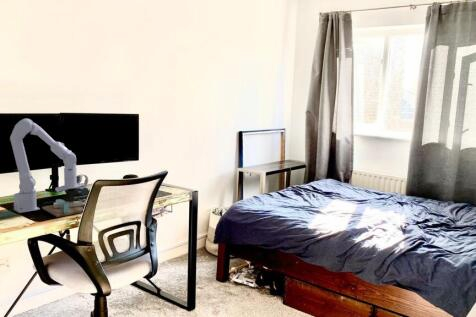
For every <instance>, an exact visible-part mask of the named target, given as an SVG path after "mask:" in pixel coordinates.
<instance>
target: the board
mask: <svg viewBox="0 0 476 317" xmlns="http://www.w3.org/2000/svg"><path fill="white" fill-rule="evenodd" d="M80 201H82V199H80ZM83 207H84V206H78V207H69V212H68V213H63V212H62V208H54V204H53V205H52V204H51V205H47V206H42V207H41V208H42V210H44V211H45V212H47V213H50V214H51V215H53V216H54V217H56V218H58V217H65V216H69V215H74V214H81V213H83V212H82V211H83Z"/></svg>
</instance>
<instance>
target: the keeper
mask: <svg viewBox="0 0 476 317" xmlns="http://www.w3.org/2000/svg"><path fill="white" fill-rule="evenodd" d="M68 202H69V201H66V200H64V199H61V198H59V199H58V198H57V199H55V203H58V204H60V205H62V212H63V213H68V212H69V203H68Z"/></svg>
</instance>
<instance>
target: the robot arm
mask: <svg viewBox="0 0 476 317" xmlns="http://www.w3.org/2000/svg"><path fill="white" fill-rule="evenodd" d="M29 133H30V135H34V136H38V137H39V138H40V139H41V140H42V141H44V142H45V143H46V144H47V145H48V146H50V151H51V152H52V153H54V154H55V155H56V156H57V157H58V158H59V159H60V160H63V161H62V162H63V164H64V168H63V174H64V175H63V177H64V178H63V179H64V180H63V181H64V185H61V186H57V187H55V192H57V193H60V192H63V191H64V193H65V195H66V196H67V199H68V202H72V201H75V198H76V195H77V194H76V193H77V189H76V188H82V187H83V188H84V187H85V184H84V182H83V183H82V182H80V184H77V176H78V175H77V157H76V156H77V155H76V154H75V153H74V152H72V150H71V149H70V150H69V149H68V148H67V147H66V146H65V143H63V142H60V141H56V140H54V139H53V138H52V137H51V136H50V135H49V134H48V133H47V132H46V131H45V130H44V129H43V128H42V127H41V126H39V125H38V124H37V123H35V122H34V121H33V120H32V119H30V118H23V119H21V120H19V121H18V122H17V123H16V124H15V125H14V128H13V129H12V133H11V135H10V137H9V141H10V143H11V144H10V145H11V146H12V151H13V155H14V159H15V164H16V167H17V170H18V179H19V185H18V189H19V192H17V193H14V195H13V210H14V211H15V212H17V213H19V214H21V213H27V212H32V211H39V210H41V208H40V207H38V206H37V190H36V189H35V186H36V179H35V178H34V177H33V175H32V172H31V170H30V166H29V163H28V157H27V154H26V150H25V146H24V143H23V142H24V141H23V139H24V138H25V137H26V135H28V134H29ZM85 188H86V187H85Z"/></svg>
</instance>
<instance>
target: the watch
mask: <svg viewBox="0 0 476 317" xmlns="http://www.w3.org/2000/svg"><path fill="white" fill-rule="evenodd" d="M83 177H84V179H85V180H84V182H83ZM82 182H83V183H84V184H85V187H84V188H83V187H82V188H76V189H77V193H76V195H79V196H80V195H81V196H85V195H88V194H89V188H88V187H87V186H88V185H89V184H88V183H89V177H88V176H87V175H86V174H82V173H80V174H78V175H77V184H80V183H82Z"/></svg>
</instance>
